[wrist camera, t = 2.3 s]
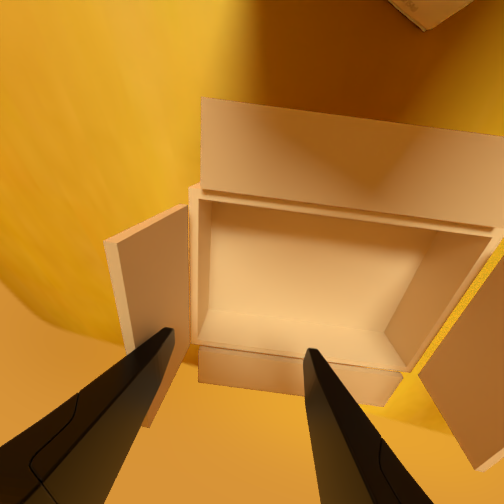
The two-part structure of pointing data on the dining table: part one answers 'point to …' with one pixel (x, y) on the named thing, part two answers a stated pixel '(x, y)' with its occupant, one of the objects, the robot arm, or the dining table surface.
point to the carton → (332, 243)
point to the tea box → (429, 10)
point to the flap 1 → (153, 286)
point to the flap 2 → (473, 375)
